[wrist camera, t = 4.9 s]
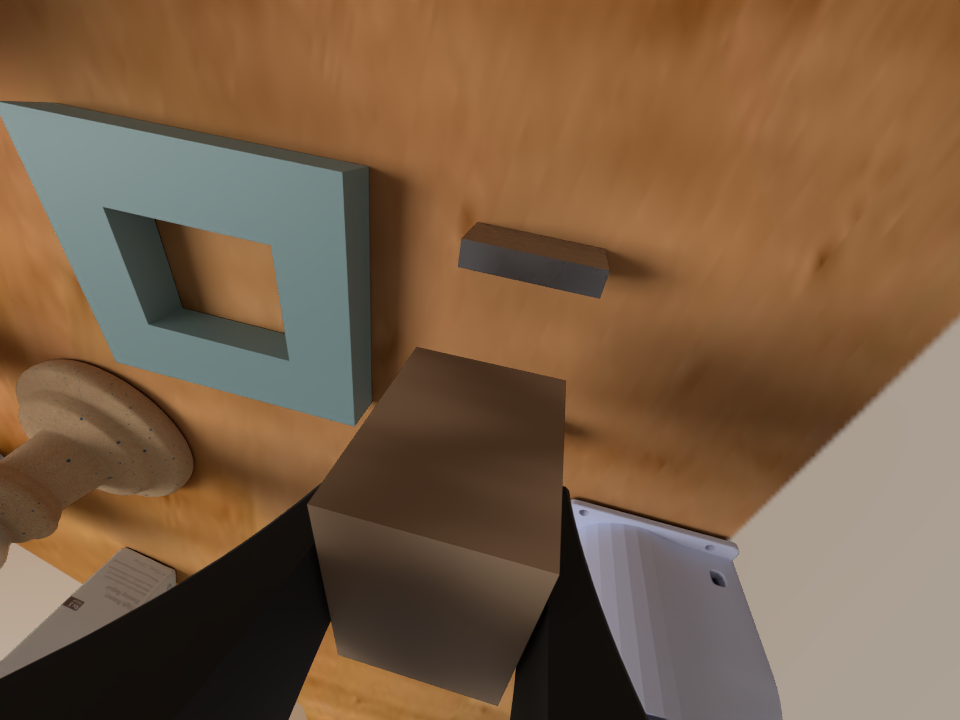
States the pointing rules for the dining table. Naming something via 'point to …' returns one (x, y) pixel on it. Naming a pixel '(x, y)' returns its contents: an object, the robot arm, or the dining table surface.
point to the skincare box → (94, 606)
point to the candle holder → (83, 447)
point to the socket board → (221, 209)
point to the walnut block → (445, 523)
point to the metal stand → (535, 259)
